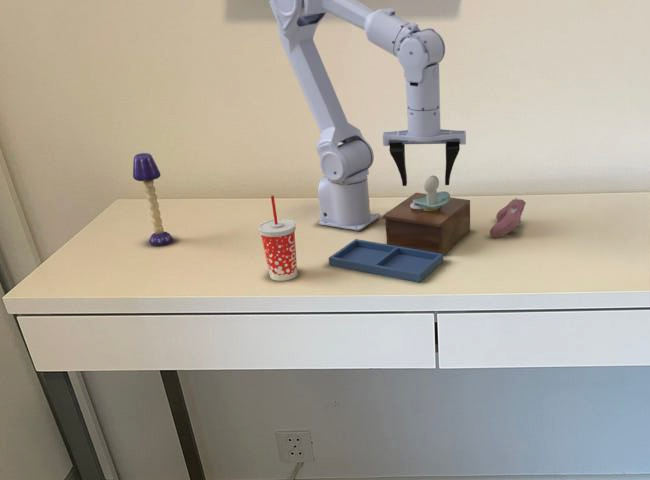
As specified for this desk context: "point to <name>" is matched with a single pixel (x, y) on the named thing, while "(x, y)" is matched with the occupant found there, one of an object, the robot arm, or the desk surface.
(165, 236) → the toy lamp
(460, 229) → the chest
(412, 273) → the tray
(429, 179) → the pacifier
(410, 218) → the chest lid
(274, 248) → the beverage cup
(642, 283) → the desk surface
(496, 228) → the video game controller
